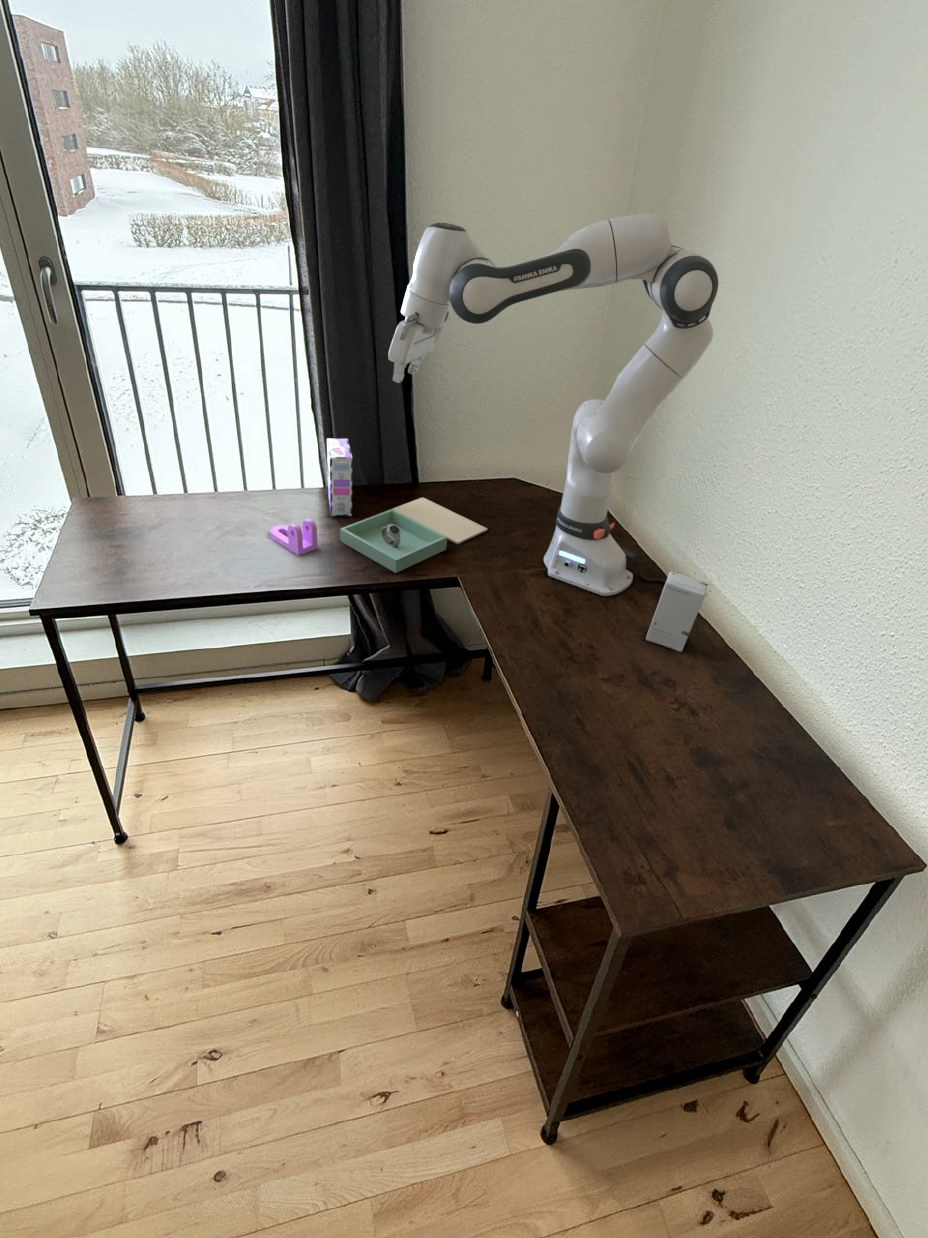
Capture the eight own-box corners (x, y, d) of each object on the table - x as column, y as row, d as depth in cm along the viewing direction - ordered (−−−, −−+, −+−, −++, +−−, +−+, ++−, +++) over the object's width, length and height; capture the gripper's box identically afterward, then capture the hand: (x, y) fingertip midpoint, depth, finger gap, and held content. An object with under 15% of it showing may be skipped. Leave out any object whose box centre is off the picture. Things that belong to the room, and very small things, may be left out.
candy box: (352, 516, 177) (353, 457, 167) (330, 517, 175) (329, 457, 166) (348, 494, 187) (348, 437, 178) (327, 494, 186) (326, 436, 177)
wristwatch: (392, 549, 164) (393, 531, 161) (377, 539, 168) (378, 521, 165) (403, 546, 166) (404, 528, 163) (388, 535, 170) (389, 518, 167)
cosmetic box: (644, 640, 143) (663, 582, 135) (650, 626, 148) (668, 569, 140) (683, 653, 141) (705, 594, 133) (688, 638, 146) (709, 581, 137)
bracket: (317, 548, 162) (316, 522, 158) (298, 555, 158) (297, 529, 154) (285, 528, 168) (283, 502, 164) (266, 534, 165) (264, 508, 161)
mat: (487, 530, 178) (487, 528, 178) (457, 544, 170) (458, 542, 170) (422, 498, 190) (422, 497, 189) (391, 510, 182) (392, 508, 182)
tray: (446, 549, 167) (447, 537, 165) (395, 573, 156) (396, 560, 154) (391, 520, 177) (392, 508, 175) (340, 541, 166) (340, 528, 164)
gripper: (421, 322, 126) (401, 393, 134) (451, 312, 143) (432, 374, 151) (391, 309, 126) (373, 380, 134) (425, 300, 143) (407, 363, 151)
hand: (404, 377), depth 142 cm, fingers open, 8 cm apart
